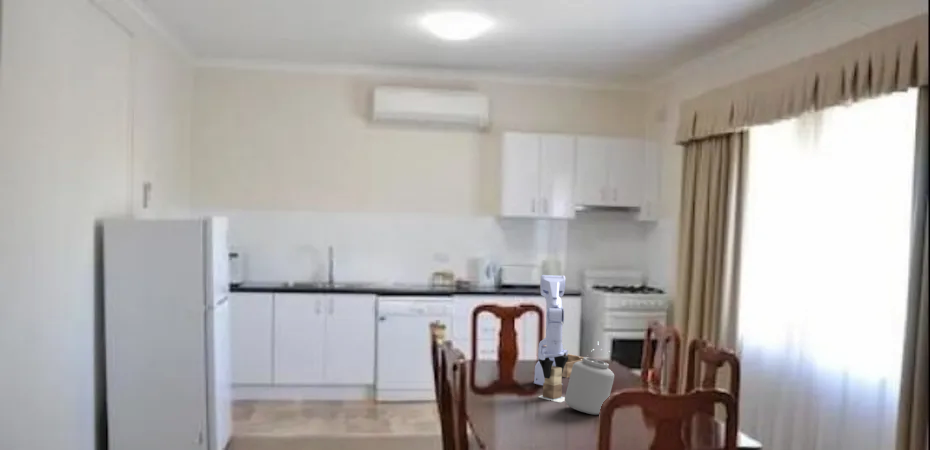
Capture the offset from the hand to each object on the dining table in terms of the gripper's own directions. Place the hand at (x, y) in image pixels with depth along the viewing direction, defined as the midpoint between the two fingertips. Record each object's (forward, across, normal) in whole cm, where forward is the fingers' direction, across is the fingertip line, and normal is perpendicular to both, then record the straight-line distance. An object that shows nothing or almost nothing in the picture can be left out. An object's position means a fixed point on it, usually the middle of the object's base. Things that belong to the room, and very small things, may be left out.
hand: (552, 376), depth 278 cm
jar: (+8, -4, -21) cm, 23 cm away
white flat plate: (+8, 0, -1) cm, 8 cm away
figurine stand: (+8, +38, +22) cm, 45 cm away
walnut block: (+8, 0, 0) cm, 8 cm away
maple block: (+3, 0, 0) cm, 3 cm away
